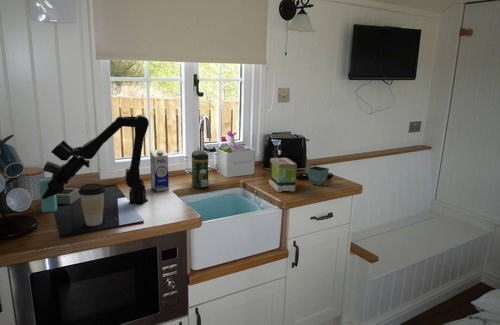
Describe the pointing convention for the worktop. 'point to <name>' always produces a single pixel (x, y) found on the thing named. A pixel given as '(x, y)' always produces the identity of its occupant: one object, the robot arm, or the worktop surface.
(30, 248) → the worktop surface
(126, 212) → the worktop surface
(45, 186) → the teal peg
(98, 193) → the coffee cup
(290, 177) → the tea box
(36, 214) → the worktop surface
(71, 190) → the socket block
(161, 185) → the milk carton
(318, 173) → the flower pot
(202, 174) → the coffee jar
